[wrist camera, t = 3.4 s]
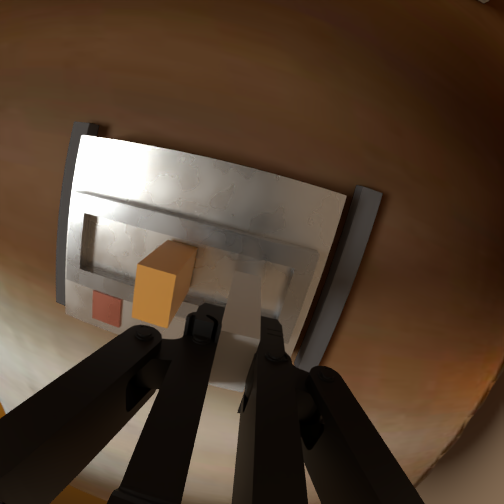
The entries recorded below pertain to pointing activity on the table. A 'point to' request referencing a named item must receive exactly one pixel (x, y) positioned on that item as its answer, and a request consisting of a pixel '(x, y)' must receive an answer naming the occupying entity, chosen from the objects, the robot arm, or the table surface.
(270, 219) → the panel
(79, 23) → the table surface
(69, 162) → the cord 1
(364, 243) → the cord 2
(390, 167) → the table surface
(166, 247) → the lever
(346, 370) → the table surface
